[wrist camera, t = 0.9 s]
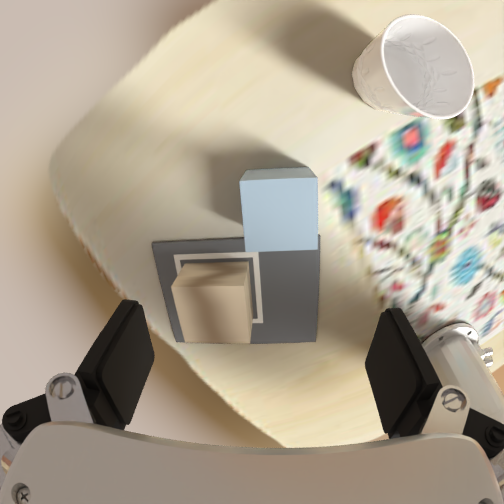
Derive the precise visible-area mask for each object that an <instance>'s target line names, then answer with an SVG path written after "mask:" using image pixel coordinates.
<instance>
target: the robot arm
mask: <svg viewBox="0 0 504 504" xmlns="http://www.w3.org/2000/svg"><path fill="white" fill-rule="evenodd" d="M492 353H493V350H492V348H491V347H489V348H485V349H483V350H482V349H481V348H480V347H479V345H478V334H477V332H476V331H475V329H474V328H473V327H472V326H471V325H469V324H466V323H457V324H452V325H449V326H447V327H444V328H442V329H440V330H439V331H437V332H436V333H434V334H433V335H431V336H430V337H429V338H428V339H426V340H425V341H424V342H423V343H422V344H421V343H420V341H419V339H418V337H417V336H416V334H415V332H414V330H413V328H412V327H411V325H410V323H409V321H408V320H407V318H406V316H405V314H404V313H403V311H402V309H401V308H388V309H386V310H385V312H382V313H381V316H380V319H379V322H378V325H377V328H376V331H375V334H374V337H373V340H372V343H371V346H370V349H369V352H368V355H367V358H366V361H365V368H366V371H367V375H368V378H369V381H370V385H371V388H372V391H373V395H374V398H375V401H376V405H377V409H378V412H379V416H380V419H381V423H382V427H383V430H384V432H385V433H388V436H389V439H387V440H381V441H374V442H366V443H358V444H349V445H339V446H327V447H310V448H247V447H231V446H219V445H208V444H199V443H191V442H184V441H177V440H171V439H164V438H159V437H154V436H148V435H143V434H138V433H133V432H129V431H125V430H124V429H125V426H126V425H129V424H130V422H131V419H132V417H133V414H134V411H135V409H136V406H137V403H138V401H139V398H140V395H141V393H142V390H143V387H144V385H145V382H146V380H147V377H148V375H149V372H150V370H151V367H152V365H153V362H154V351H153V347H152V343H151V339H150V335H149V332H148V327H147V323H146V319H145V315H144V311H143V307H142V305H139V303H138V301H135V300H122V301H121V303H120V305H119V306H118V308H117V309H116V310H115V312H114V314H113V315H112V317H111V318H110V320H109V321H108V323H107V324H106V326H105V327H104V329H103V330H102V331H101V332H100V334H99V336H98V338H97V339H96V340H95V342H94V343H93V345H92V347H91V348H90V350H89V351H88V353H87V355H86V356H85V358H84V360H83V362H82V363H81V365H80V366H79V368H78V370H77V372H76V373H75V375H73V374H71V373H61V374H57V375H55V376H54V377H53V378H51V379H50V380H49V382H48V383H47V385H46V391H45V394H43V395H40V396H38V397H35V398H32V399H30V400H27V401H25V402H22V403H19V404H17V405H14V406H12V407H10V408H9V409H8V410H7V411H6V412H5V413H4V415H3V419H2V424H1V425H0V504H504V395H503V393H502V391H501V389H500V388H499V386H498V384H497V382H496V381H495V379H494V378H493V376H492V374H491V372H490V371H489V369H488V367H490V366H491V365H492V363H493V360H492V357H491V356H490V355H492Z"/></svg>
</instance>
